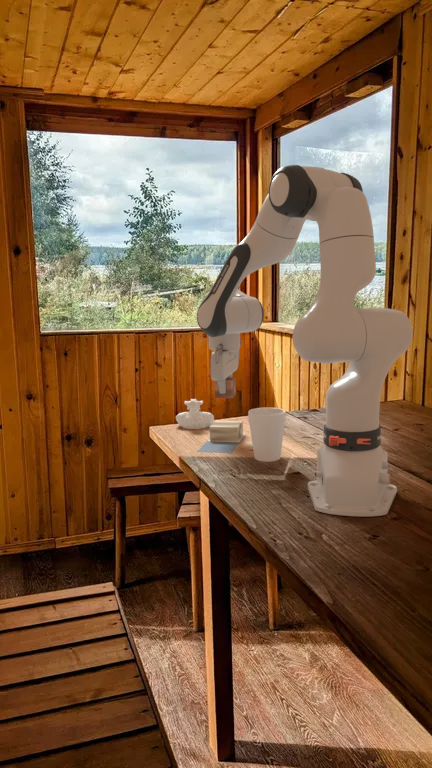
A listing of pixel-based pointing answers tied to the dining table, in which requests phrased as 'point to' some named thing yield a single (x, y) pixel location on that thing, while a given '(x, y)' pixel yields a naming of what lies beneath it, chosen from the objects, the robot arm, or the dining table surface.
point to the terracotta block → (230, 389)
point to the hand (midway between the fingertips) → (225, 391)
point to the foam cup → (267, 432)
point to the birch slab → (226, 430)
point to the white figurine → (194, 416)
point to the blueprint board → (220, 446)
